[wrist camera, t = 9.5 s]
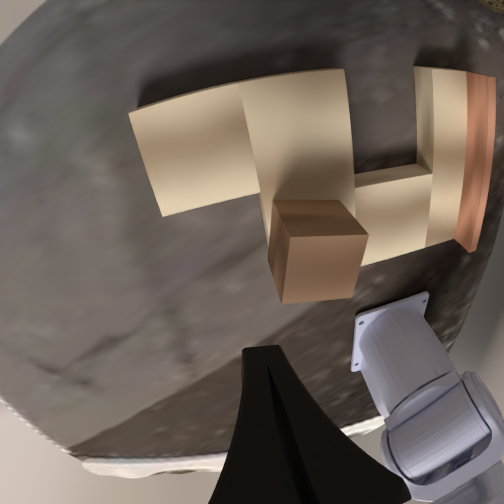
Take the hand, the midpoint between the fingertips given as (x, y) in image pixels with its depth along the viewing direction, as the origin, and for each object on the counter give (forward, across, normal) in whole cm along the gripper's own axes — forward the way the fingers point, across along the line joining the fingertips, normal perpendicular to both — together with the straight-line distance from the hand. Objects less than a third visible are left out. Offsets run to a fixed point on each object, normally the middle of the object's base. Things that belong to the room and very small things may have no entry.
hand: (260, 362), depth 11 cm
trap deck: (+10, -6, -4) cm, 12 cm away
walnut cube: (+8, -4, -1) cm, 9 cm away
